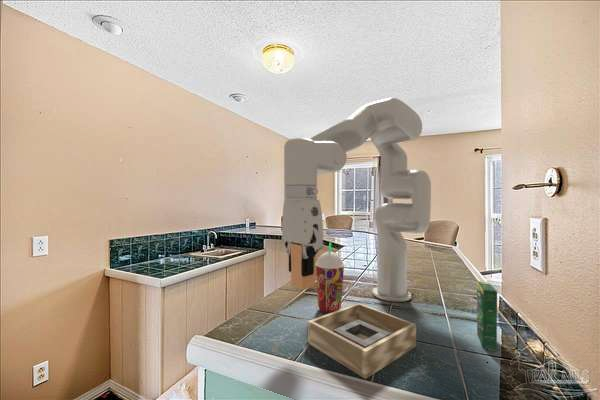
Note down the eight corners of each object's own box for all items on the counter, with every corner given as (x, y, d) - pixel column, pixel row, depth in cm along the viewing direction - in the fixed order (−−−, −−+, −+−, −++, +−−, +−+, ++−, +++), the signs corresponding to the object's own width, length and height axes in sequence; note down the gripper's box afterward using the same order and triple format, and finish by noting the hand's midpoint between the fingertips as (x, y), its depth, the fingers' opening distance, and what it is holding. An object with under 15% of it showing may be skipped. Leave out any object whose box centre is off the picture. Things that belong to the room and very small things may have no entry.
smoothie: (343, 317, 76) (343, 245, 76) (313, 315, 78) (313, 244, 78) (344, 306, 84) (345, 241, 84) (317, 304, 86) (317, 239, 86)
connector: (304, 282, 67) (303, 236, 67) (315, 286, 64) (314, 238, 64) (291, 285, 64) (290, 238, 64) (302, 290, 61) (301, 240, 61)
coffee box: (475, 332, 68) (476, 279, 68) (489, 335, 67) (490, 281, 67) (481, 348, 61) (482, 289, 61) (497, 351, 60) (497, 291, 60)
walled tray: (358, 321, 74) (358, 302, 74) (415, 346, 61) (416, 324, 61) (307, 343, 62) (308, 321, 62) (365, 379, 50) (365, 351, 50)
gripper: (338, 193, 59) (339, 278, 60) (291, 194, 72) (291, 263, 73) (312, 193, 55) (313, 285, 55) (267, 194, 68) (267, 268, 68)
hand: (301, 272), depth 64 cm, fingers closed on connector, 4 cm apart
